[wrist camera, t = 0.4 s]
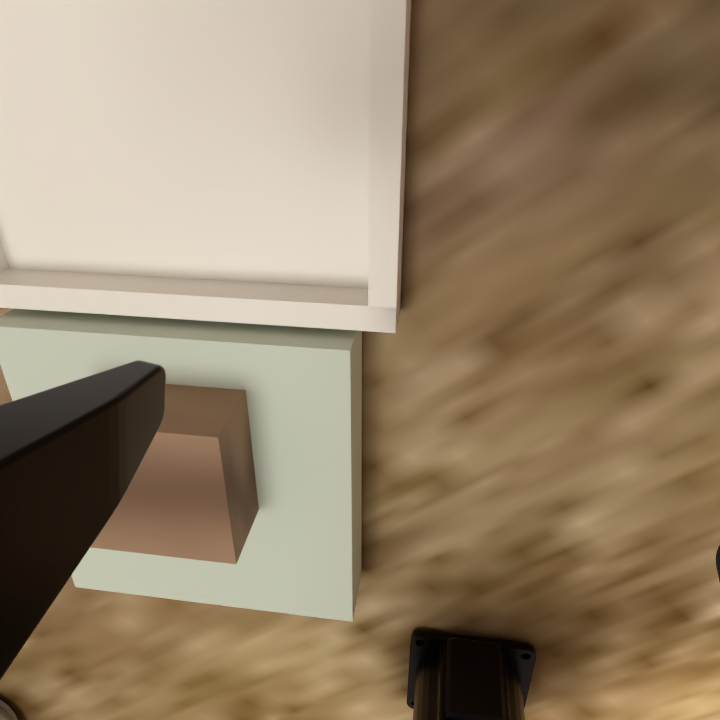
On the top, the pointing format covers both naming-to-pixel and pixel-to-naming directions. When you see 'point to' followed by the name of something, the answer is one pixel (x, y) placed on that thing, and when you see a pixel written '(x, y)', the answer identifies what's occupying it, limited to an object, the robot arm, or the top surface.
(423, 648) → the robot arm
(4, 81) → the tray
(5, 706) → the soda can
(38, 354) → the platform
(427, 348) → the top surface
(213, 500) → the walnut tile
